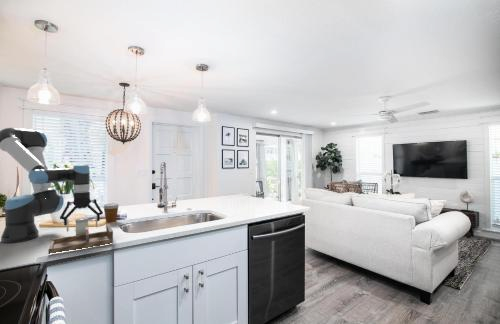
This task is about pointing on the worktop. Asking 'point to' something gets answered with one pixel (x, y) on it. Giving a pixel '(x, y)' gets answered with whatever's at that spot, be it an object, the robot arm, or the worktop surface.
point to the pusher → (87, 234)
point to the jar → (81, 225)
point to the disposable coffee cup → (111, 212)
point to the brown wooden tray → (81, 241)
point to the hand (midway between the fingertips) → (82, 228)
